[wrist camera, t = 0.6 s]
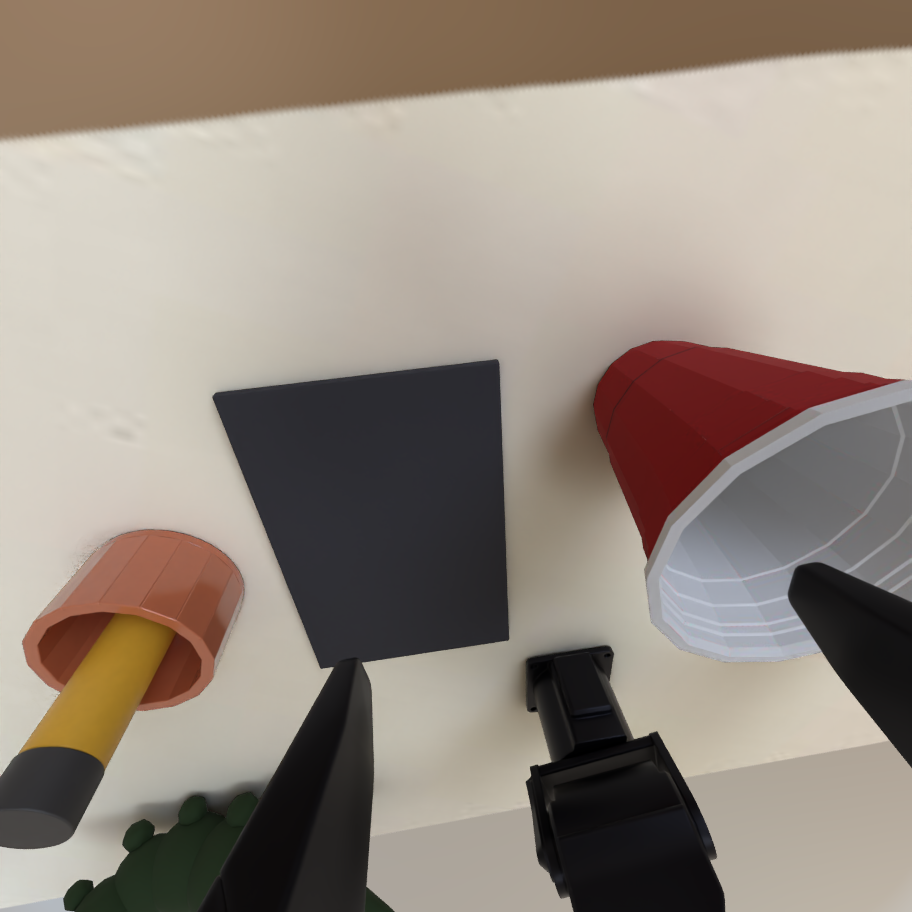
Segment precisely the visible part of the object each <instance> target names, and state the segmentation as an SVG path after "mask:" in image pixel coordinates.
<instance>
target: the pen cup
mask: <svg viewBox="0 0 912 912" xmlns="http://www.w3.org/2000/svg"><path fill="white" fill-rule="evenodd" d="M243 596H244V584H243V579H242V577H241V574H240V572H239V571H238V569H237V567H236V566H235V565H234V563H233V562H232V561H231V560H230V559H229V558H228V557H227V556H226V555H225V554H223V553H222V552H221V551H220V550H218V549H217V548H215V547H214V546H212V545H210V544H208V543H206V542H204V541H202V540H200V539H197V538H195V537H192V536H189V535H185V534H182V533H177V532H172V531H164V530H142V531H135V532H129V533H126V534H123V535H120V536H117V537H115V538H113V539H111V540H109V541H108V542H106V543H105V544H103V545H102V546H101V547H100V548H99V549H98V550H97V551H95V552H94V553H93V554H92V555H91V556H90V557H89V559H88V560H87V561H86V562H85V563H84V564H83V565H82V567H81V568H80V569H79V570H78V571H77V572H76V574H75V575H74V576H73V577H72V578H71V579H70V580H69V582H68V583H67V584H66V585H65V586H64V587H63V588H62V590H61V591H60V592H59V593H58V594H57V595H56V596H55V598H54V599H53V600H52V601H51V602H50V603H49V604H48V606H47V607H46V608H45V609H44V610H43V611H42V613H41V614H40V615H39V616H38V617H37V618H36V619H35V621H34V622H33V623H32V625H31V627H30V628H29V630H28V632H27V634H26V635H25V637H24V639H23V641H22V645H23V649H24V653H25V658H26V662H27V664H28V666H29V667H30V668H31V669H32V670H33V671H34V672H35V673H36V674H37V675H38V676H39V678H40V679H41V680H42V681H43V682H44V683H45V684H47V685H48V686H50V687H51V688H53V689H55V690H57V691H59V692H61V691H62V690H63V688H64V687H65V685H66V684H67V683H68V681H69V680H70V678H71V677H72V675H73V674H74V672H75V671H76V669H77V668H78V667H79V665H80V664H81V662H82V661H83V659H84V658H85V656H86V655H87V654H88V652H89V651H90V649H91V648H92V646H93V645H94V643H95V642H96V641H97V639H98V638H99V636H100V635H101V633H102V632H103V630H104V629H105V628H106V626H107V625H108V623H109V622H110V620H111V619H112V617H113V616H114V615H115V613H119V614H128V615H137V616H140V617H143V618H145V619H148V620H151V621H154V622H157V623H160V624H162V625H165V626H168V627H170V628H171V629H173V630H174V631H176V634H175V636H174V638H173V640H172V642H171V644H170V646H169V648H168V650H167V652H166V654H165V656H164V657H163V659H162V661H161V663H160V665H159V667H158V669H157V671H156V673H155V675H154V677H153V679H152V681H151V682H150V684H149V686H148V688H147V690H146V692H145V694H144V696H143V698H142V700H141V702H140V704H139V706H138V708H137V709H136V711H143V710H144V711H147V710H154V709H160V708H167V707H173V706H176V705H178V704H181V703H183V702H185V701H187V700H189V699H192V698H194V697H196V696H198V695H199V694H200V693H201V692H202V691H203V690H204V689H205V687H206V686H207V685H208V684H209V683H210V682H211V680H212V679H213V677H214V675H215V672H216V670H217V667H218V665H219V662H220V660H221V657H222V655H223V652H224V649H225V647H226V644H227V642H228V639H229V637H230V634H231V632H232V629H233V626H234V624H235V621H236V619H237V616H238V614H239V611H240V608H241V603H242V600H243Z"/></svg>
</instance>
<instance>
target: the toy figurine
mask: <svg viewBox="0 0 912 912" xmlns="http://www.w3.org/2000/svg"><path fill="white" fill-rule="evenodd" d="M258 802H259V799H258V798H257V797H256V796H254V795H253V794H252V793H251V792H249V793H245V794H242V795H238V796H237V797H236V798H235V799H234V800H233V802H232V803H231V804H230V805H229V807H228V810H227V815H226V818H225V817H224V816H223V815H221V814H217V813H214V812H211V811H208V812H207V805H206V801H205V799H204V797H198V796H194V797H191V798H190V799H188V800H186V801H185V802H184V803H183V805H182V807H181V809H180V811H179V814H178V817H179V823H177V824H176V825H175V826H173V827H172V828H171V829H170V831H169V832H168V833H160V834H157V835H154V831H155V827H154V825H153V824H152V823H151V822H149V821H147V820H145V819H143V820H141V821H139V822H136V823H134V824H132V825H131V826H130V828H129V829H128V830H127V831H126V834H125V836H124V839H123V844H122V845H123V847H124V848H125V849H126V850H127V851H128V852H129V854H128V855H127V857H126V858H125V859H124V860H123V862H122V863H121V864H120V866H119V868H118V870H117V872H116V874H115V875H113V876H111V877H109V878H107V879H104V880H103V881H102V882H101V883H100V884H98V885H97V886H96V887H95V888H94V887H93V881H90V880H79V881H77V882H76V883H75V884H74V885H72V886H71V887H70V888H69V889H68V891H67V893H66V895H65V897H64V899H63V900H64V907H65V910H67V911H75V912H197V910H198V908H199V907H200V905H201V903H202V901H203V899H204V898H205V896H206V894H207V892H208V891H209V889H210V887H211V885H212V883H213V882H214V880H215V878H216V877H217V876H218V875H220V870H221V868H222V866H223V864H224V863H225V861H226V859H227V857H228V855H229V854H230V852H231V850H232V848H233V847H234V845H235V843H236V841H237V839H238V838H239V836H240V834H241V832H242V830H243V829H244V827H245V825H246V823H247V822H248V820H249V818H250V816H251V814H252V813H253V811H254V809H255V807H256V806H257V804H258ZM153 835H154V836H153ZM365 912H394V911H393V909H391V908H390V907H389V906H388V905H387V904H386V903H385V902H384V901H382V900H381V899H380V898H379V897H378V896H377V895H375V894H374V893H373V892H372V891H371V890H370V889H369V888H367V887H366V898H365Z"/></svg>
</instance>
